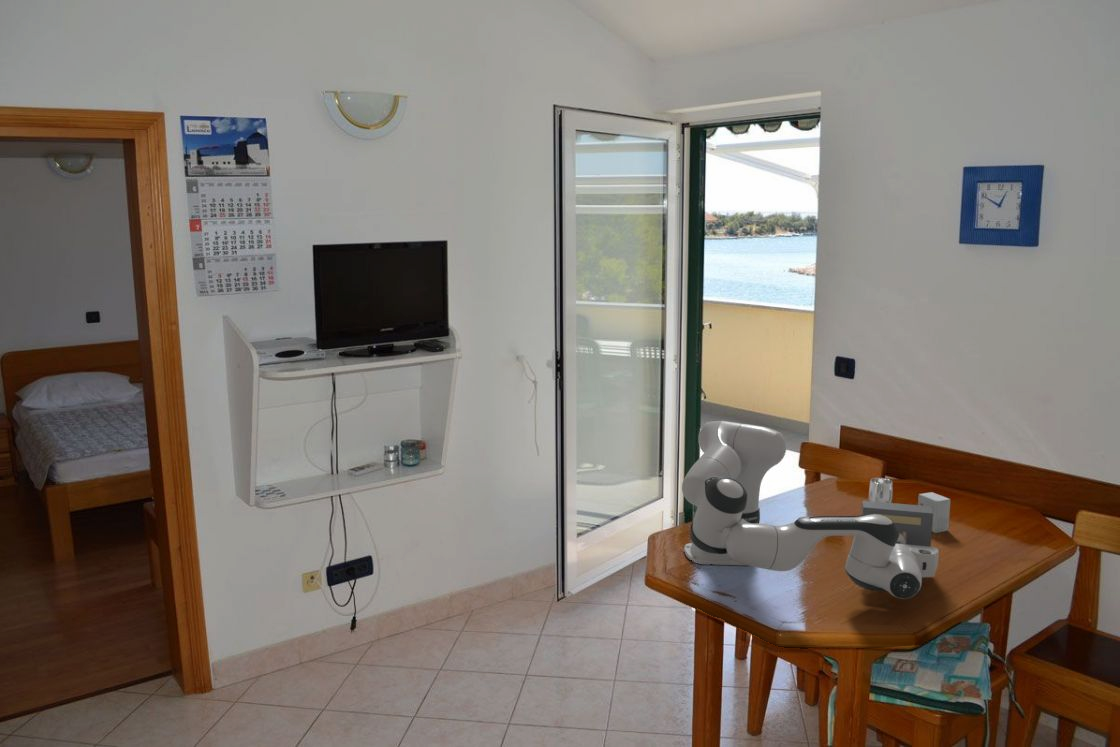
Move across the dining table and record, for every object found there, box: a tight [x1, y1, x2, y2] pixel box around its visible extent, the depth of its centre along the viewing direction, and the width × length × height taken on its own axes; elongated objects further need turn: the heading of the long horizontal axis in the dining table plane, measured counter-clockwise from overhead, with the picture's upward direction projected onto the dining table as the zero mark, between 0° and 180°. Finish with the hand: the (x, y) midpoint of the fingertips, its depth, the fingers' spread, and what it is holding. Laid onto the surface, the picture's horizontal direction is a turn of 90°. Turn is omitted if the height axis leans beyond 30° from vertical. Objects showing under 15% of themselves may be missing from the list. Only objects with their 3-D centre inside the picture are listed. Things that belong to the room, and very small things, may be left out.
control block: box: [861, 500, 933, 547], centre depth 249 cm, size 6×18×18 cm, turn 74°
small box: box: [917, 491, 951, 534], centre depth 281 cm, size 8×6×10 cm
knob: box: [897, 532, 906, 544], centre depth 251 cm, size 11×5×5 cm, turn 164°
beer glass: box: [868, 477, 893, 503], centre depth 282 cm, size 7×7×15 cm
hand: (896, 542), depth 245 cm, fingers closed, pressing on knob
